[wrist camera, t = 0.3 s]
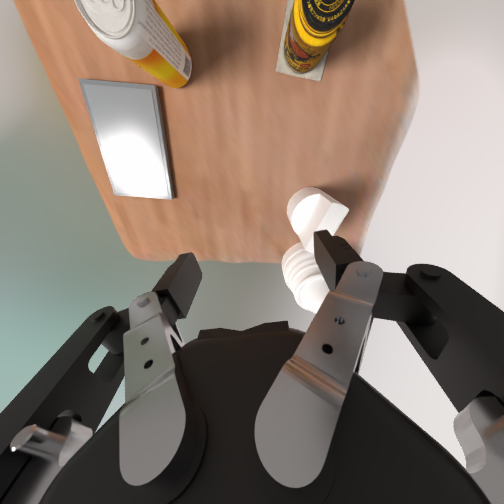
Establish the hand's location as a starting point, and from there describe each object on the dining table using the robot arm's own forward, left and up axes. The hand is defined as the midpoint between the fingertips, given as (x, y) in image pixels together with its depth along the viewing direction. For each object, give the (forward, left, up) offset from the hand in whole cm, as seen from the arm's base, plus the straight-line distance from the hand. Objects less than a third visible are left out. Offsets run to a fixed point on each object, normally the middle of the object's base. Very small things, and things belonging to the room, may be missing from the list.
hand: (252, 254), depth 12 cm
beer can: (-16, -14, -29) cm, 36 cm away
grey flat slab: (-4, -23, -29) cm, 37 cm away
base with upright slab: (+5, +12, -29) cm, 31 cm away
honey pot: (+19, +15, -29) cm, 37 cm away
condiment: (-20, +6, -29) cm, 36 cm away
